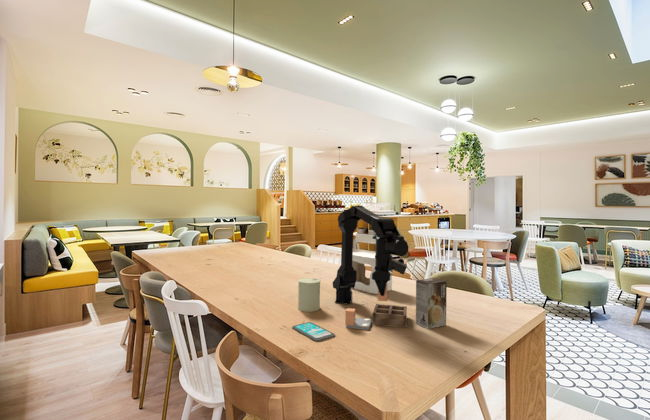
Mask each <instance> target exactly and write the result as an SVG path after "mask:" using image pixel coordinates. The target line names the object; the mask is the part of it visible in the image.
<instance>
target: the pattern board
mask: <svg viewBox="0 0 650 420" xmlns="http://www.w3.org/2000/svg"><path fill="white" fill-rule="evenodd" d="M344 314H345V318H344V319H345V321H344V322H345V324H344V325H345V328H346V329H347V328H348V329H356V330H357V329H358V330H364V331H365V330H366V331H369V330H370V328H371V325H372V323H373V318H363V317H362V318H361V317H356V308H351V307H347V308H346V310H345V313H344Z"/></svg>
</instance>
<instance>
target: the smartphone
mask: <svg viewBox="0 0 650 420" xmlns="http://www.w3.org/2000/svg"><path fill="white" fill-rule="evenodd" d="M292 330H294V331H295V332H297V333H300V334H301V335H303V336H305V337H307V338H308V339H310V340H311V341H313V342H315V343H318V342H322V341H326V340H330V339H332V338H335V337H336V334H335V333H334V332H331V331H330V330H328V329H326V328H324V327H321V326H320V325H318V324H317V323H314V322H311V321H307V322H303V323H299V324H295V325H292Z"/></svg>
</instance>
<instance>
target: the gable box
mask: <svg viewBox="0 0 650 420" xmlns="http://www.w3.org/2000/svg"><path fill="white" fill-rule="evenodd" d="M374 235H375V234H369V233H368V234H367V233H356V234H355V238H353V258H352V266H353V268H354V270H356V271H357V274H356V278H357V280H356V283H355V287H354V288H353V289H354V290H358V291H361V290H362V292H365V291H366V292H367V293H371V294H374V295H378V287H377V285H376V283H375V280H373V279H372V273H373V272H374V271H375V260H376V258H375V255H376V250H375V251H373V250H365V249H361V248H360V245H359V243H364V244H365V243H366V244H373V245H376V239H373V236H374ZM365 265H368V266H370V267H371V272H370V275H369V277H366V266H365ZM389 272H390V273H391V274H392V275H391V279H390V281H388V282H387V292H389V291H391V290H392V289H393V272H391V271H389ZM366 292H365V293H366Z"/></svg>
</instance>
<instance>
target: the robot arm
mask: <svg viewBox="0 0 650 420" xmlns="http://www.w3.org/2000/svg"><path fill="white" fill-rule="evenodd" d="M361 220H362V221H363V222H365V223H366V224H368V225H369V226H370V229H371V231H373V232H374V233H375V234H373V235H374V236H373V239H376V244H375V252H376V255H375V258H376V260H375V271H374V272H373V273H372V279H373V280H375V283H376V285H377V287H378V290H379V292H380V295H381V296H384V292H385V288H386V283H387V282H388V281H390V279H391V275H392V276H393V271H395V272H397V273H399V274H400V275H404V274H405V272H406V270H407V268H408V264H407V263H405V259H403V258H399V259H394V258H393V256H398V257H404V256H405V255H407V253H408V251H409V244H408V242H407V240H405V236H403V235H401V234H400V231H399V230H398V228H397V225H396V223H395V221H394V219H393V218H391V217H388V216H387V217H386V216H380V215H378V214H375V213H374V212H373V211H372V210H369V209H367V208H366V207H364V206H363V205H352V206H351V207H350V208H347V209H346V210H343V211H342V212H340V213H339V215H338V216H337V222H338V228H339V230H340V231H341V251H340V253H341V256H340V259H341V260H340V266H339V268H337V271H336V277H335V278H334V280H332V287H333V289H335V301H334V303H335V304H343V305H344V304H345V305H349V304H351V302H352V301H353V290H352V289H354V287H355V283H356V280H357V278H356V274H357V271H356V270H354V268H353V266H352V258H353V239H354V233H355V231H356V229H357V228H358V223H359V222H360V221H361ZM389 271H391V272H392V274H391V273H390V272H389Z"/></svg>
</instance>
